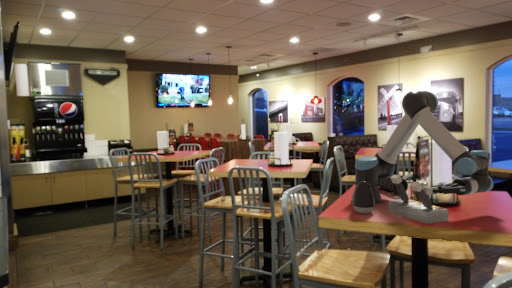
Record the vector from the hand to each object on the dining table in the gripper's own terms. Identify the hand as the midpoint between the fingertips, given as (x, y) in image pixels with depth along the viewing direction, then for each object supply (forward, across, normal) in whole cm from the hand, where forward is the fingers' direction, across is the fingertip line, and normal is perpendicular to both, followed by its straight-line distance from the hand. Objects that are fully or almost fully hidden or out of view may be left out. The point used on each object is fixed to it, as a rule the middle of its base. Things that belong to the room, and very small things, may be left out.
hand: (425, 191), depth 167 cm
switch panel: (-3, +8, -13) cm, 15 cm away
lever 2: (-3, +1, -7) cm, 8 cm away
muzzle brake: (-32, +58, -12) cm, 68 cm away
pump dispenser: (+13, +24, -13) cm, 30 cm away
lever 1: (-3, +15, -7) cm, 17 cm away
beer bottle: (-49, +51, -12) cm, 72 cm away
